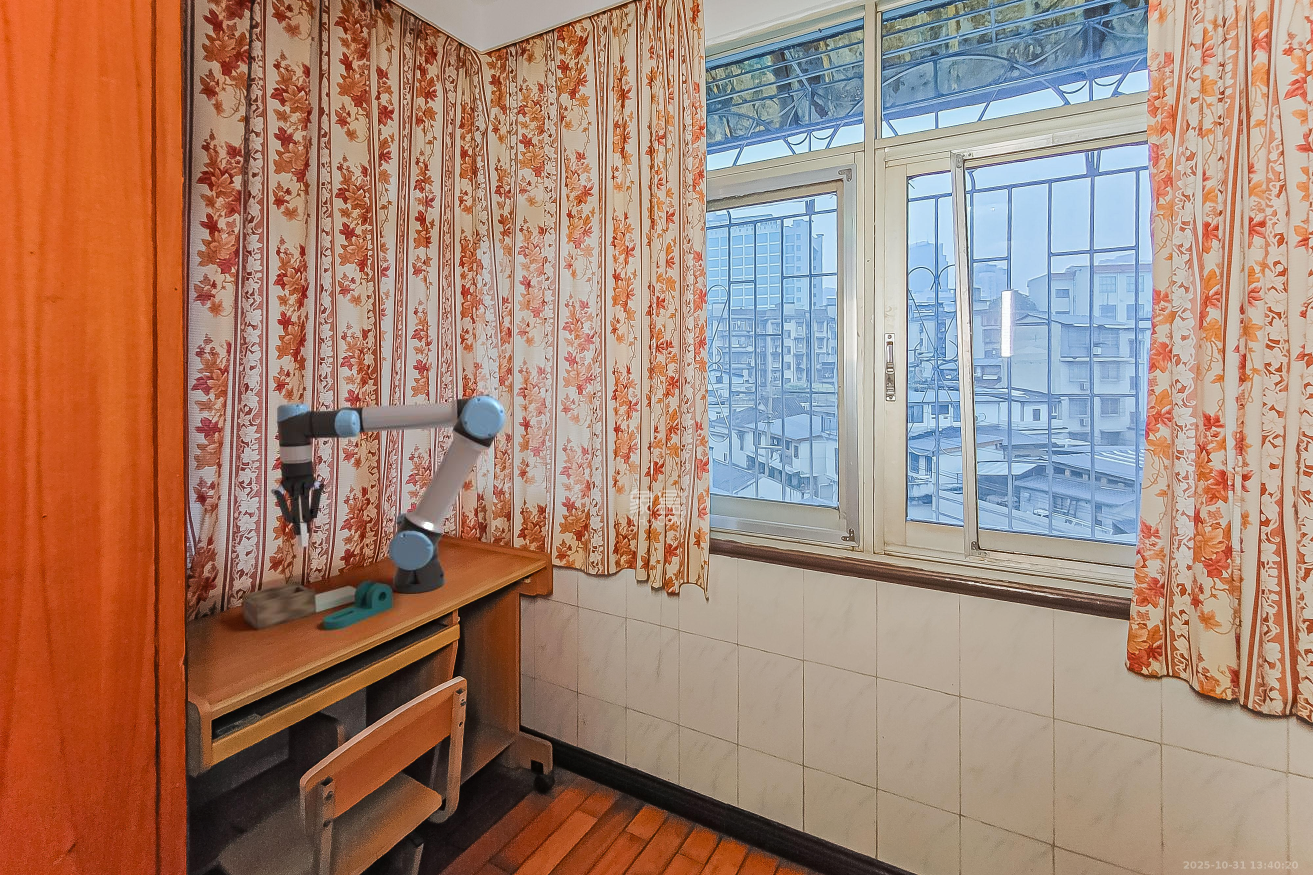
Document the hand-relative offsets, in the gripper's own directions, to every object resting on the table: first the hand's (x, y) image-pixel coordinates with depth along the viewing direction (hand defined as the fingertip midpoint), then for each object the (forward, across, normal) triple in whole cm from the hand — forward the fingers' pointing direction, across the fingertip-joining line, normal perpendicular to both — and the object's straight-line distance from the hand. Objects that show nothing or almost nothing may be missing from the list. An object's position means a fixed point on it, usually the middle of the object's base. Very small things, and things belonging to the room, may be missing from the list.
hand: (303, 545), depth 165 cm
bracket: (+19, -6, +15) cm, 25 cm away
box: (+18, +7, 0) cm, 19 cm away
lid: (+19, -7, -1) cm, 20 cm away
